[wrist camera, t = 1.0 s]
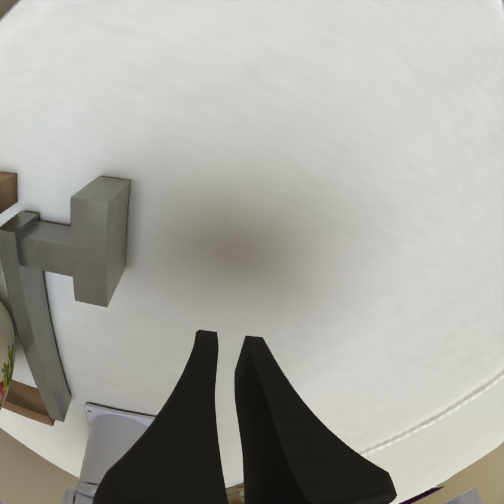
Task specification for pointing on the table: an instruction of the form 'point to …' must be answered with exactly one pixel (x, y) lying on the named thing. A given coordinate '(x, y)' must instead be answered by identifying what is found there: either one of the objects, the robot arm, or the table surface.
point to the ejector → (63, 273)
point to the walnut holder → (19, 395)
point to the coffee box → (235, 494)
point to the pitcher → (6, 352)
